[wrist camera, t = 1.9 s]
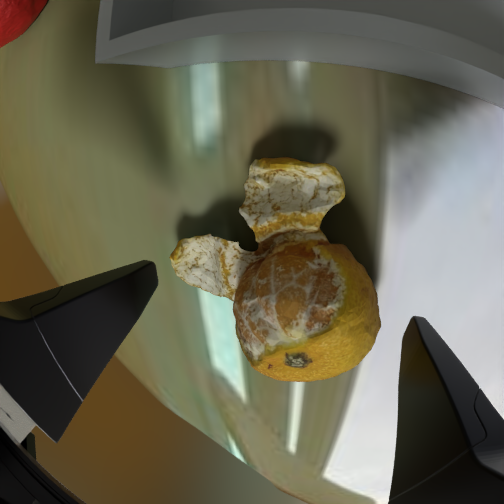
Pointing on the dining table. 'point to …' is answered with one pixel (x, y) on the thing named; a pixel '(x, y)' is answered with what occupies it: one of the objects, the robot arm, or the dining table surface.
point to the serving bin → (316, 36)
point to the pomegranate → (17, 17)
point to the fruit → (289, 276)
